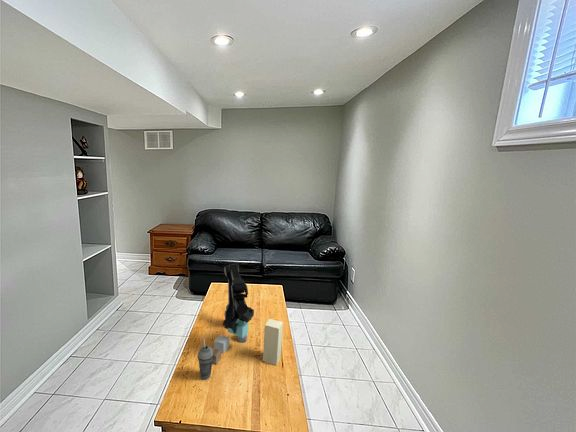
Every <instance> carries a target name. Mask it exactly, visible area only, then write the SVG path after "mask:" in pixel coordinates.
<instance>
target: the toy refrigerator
mask: <svg viewBox="0 0 576 432" xmlns="http://www.w3.org/2000/svg"><path fill="white" fill-rule="evenodd" d="M283 328H284V321H281V320H276V319H272V318H268V320H267V321H266V322H265V324H264V332H263V333H264V334H263V350H262V351H263V352H262V353H263V354H262V362H264V363H267V364H270V365H273V366H277V365H278V363H279V361H280V360H281V357H282V344H283V333H284V331H283V330H284V329H283Z"/></svg>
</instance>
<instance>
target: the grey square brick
mask: <svg viewBox="0 0 576 432" xmlns="http://www.w3.org/2000/svg"><path fill="white" fill-rule="evenodd" d="M213 348H214V349H218V350H221V354H225V352H226V351H228V349H229V348H230V336H226V335H223V334H219V335H218V336H217V337H216V338H215V339H214V341H213Z"/></svg>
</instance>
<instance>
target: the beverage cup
mask: <svg viewBox="0 0 576 432" xmlns="http://www.w3.org/2000/svg"><path fill="white" fill-rule="evenodd" d="M202 339H203V346H202V347H201V348H200V349H199V350H198V353H197V360H198V367H199V375H200V379H201V380H202V381H207V380H209V379H210V378H211V374H212V366H213V364H212V359H213V350H212V348H213V347H211V346H209V345H206V343H205V341H206V340H205V337H202Z"/></svg>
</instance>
